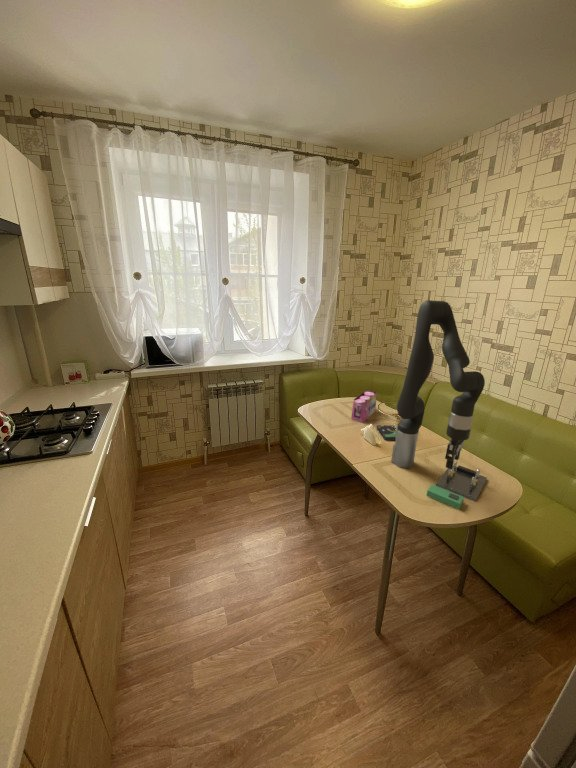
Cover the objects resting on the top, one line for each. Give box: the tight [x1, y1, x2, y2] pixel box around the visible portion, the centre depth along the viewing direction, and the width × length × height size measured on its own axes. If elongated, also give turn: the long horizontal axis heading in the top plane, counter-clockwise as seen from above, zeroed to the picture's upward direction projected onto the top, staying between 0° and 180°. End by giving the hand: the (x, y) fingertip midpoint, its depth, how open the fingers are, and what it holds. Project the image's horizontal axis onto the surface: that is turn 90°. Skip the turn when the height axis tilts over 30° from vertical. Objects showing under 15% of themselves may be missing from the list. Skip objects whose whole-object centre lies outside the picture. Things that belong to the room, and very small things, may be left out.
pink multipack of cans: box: [351, 389, 378, 423], centre depth 201 cm, size 24×8×14 cm, turn 146°
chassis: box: [435, 460, 488, 502], centre depth 135 cm, size 15×20×6 cm
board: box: [426, 483, 465, 510], centre depth 125 cm, size 12×6×3 cm, turn 48°
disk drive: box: [376, 424, 397, 442], centre depth 178 cm, size 10×3×15 cm
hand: (452, 463), depth 120 cm, fingers open, 8 cm apart
